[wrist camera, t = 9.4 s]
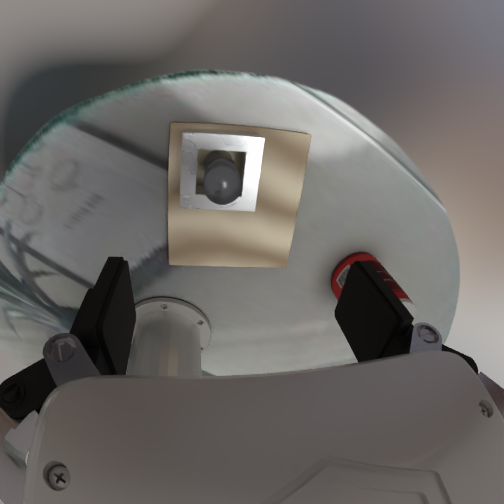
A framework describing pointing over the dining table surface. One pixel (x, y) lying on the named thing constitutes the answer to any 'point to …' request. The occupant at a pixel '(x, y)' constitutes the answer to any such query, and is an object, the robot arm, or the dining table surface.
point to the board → (239, 222)
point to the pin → (221, 178)
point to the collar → (220, 140)
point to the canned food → (344, 267)
